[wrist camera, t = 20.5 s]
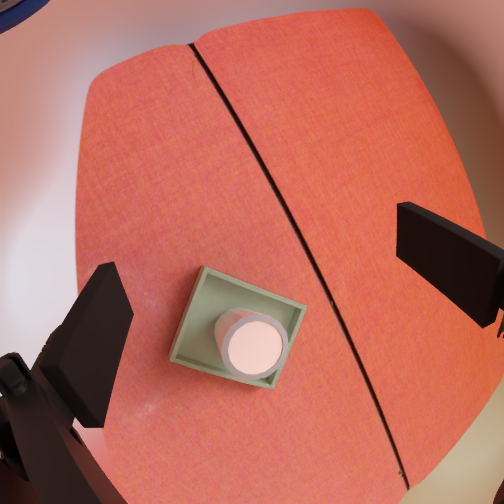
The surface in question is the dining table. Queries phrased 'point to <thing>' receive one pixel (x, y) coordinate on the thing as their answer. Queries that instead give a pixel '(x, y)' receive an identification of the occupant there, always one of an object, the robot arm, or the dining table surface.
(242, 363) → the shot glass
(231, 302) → the green tray
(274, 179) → the dining table surface
